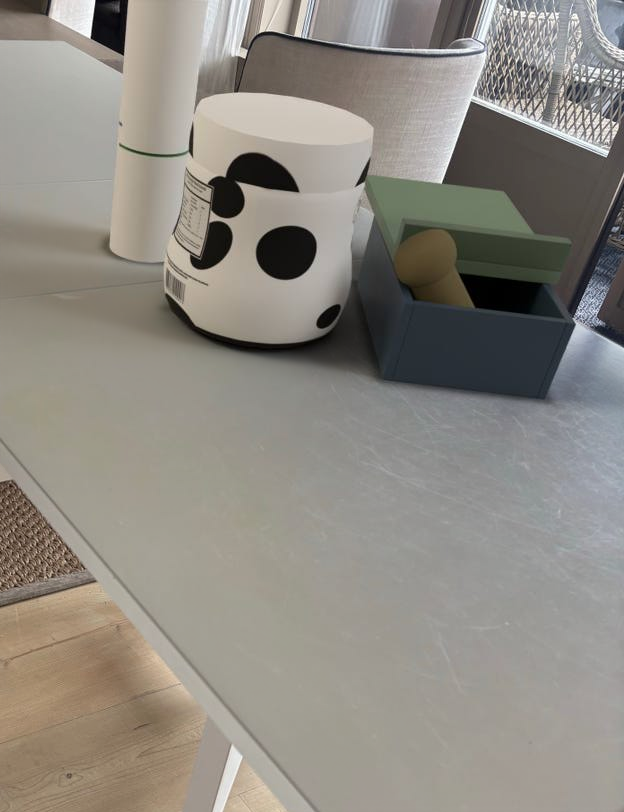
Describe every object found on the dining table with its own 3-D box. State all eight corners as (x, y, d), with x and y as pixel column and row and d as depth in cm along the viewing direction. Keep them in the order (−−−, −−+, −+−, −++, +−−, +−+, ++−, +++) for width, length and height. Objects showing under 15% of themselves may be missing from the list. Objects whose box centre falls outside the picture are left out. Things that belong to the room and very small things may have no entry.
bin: (491, 305, 103) (517, 232, 98) (542, 405, 87) (576, 324, 82) (355, 289, 102) (374, 214, 97) (381, 385, 86) (405, 302, 81)
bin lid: (500, 202, 105) (512, 166, 102) (556, 285, 88) (573, 243, 85) (362, 185, 104) (371, 148, 102) (393, 265, 87) (405, 223, 85)
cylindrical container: (168, 243, 107) (200, -30, 90) (181, 269, 102) (218, -16, 85) (104, 240, 105) (125, -38, 89) (114, 266, 100) (137, -23, 83)
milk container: (361, 319, 97) (413, 121, 85) (298, 384, 85) (348, 164, 73) (205, 271, 102) (234, 78, 90) (125, 326, 90) (145, 112, 78)
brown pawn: (409, 369, 90) (369, 262, 83) (447, 329, 91) (410, 221, 85) (464, 371, 85) (426, 257, 79) (503, 329, 87) (469, 215, 80)
